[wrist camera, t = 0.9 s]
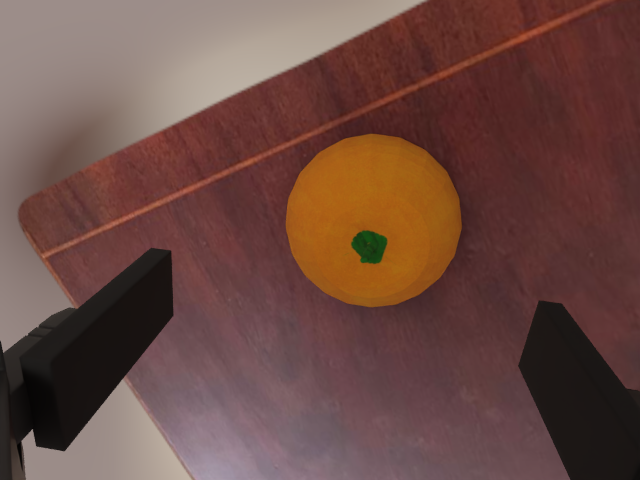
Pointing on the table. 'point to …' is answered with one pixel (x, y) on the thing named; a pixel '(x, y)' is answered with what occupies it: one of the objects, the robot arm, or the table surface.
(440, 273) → the fruit
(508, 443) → the table surface
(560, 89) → the table surface
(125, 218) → the table surface
